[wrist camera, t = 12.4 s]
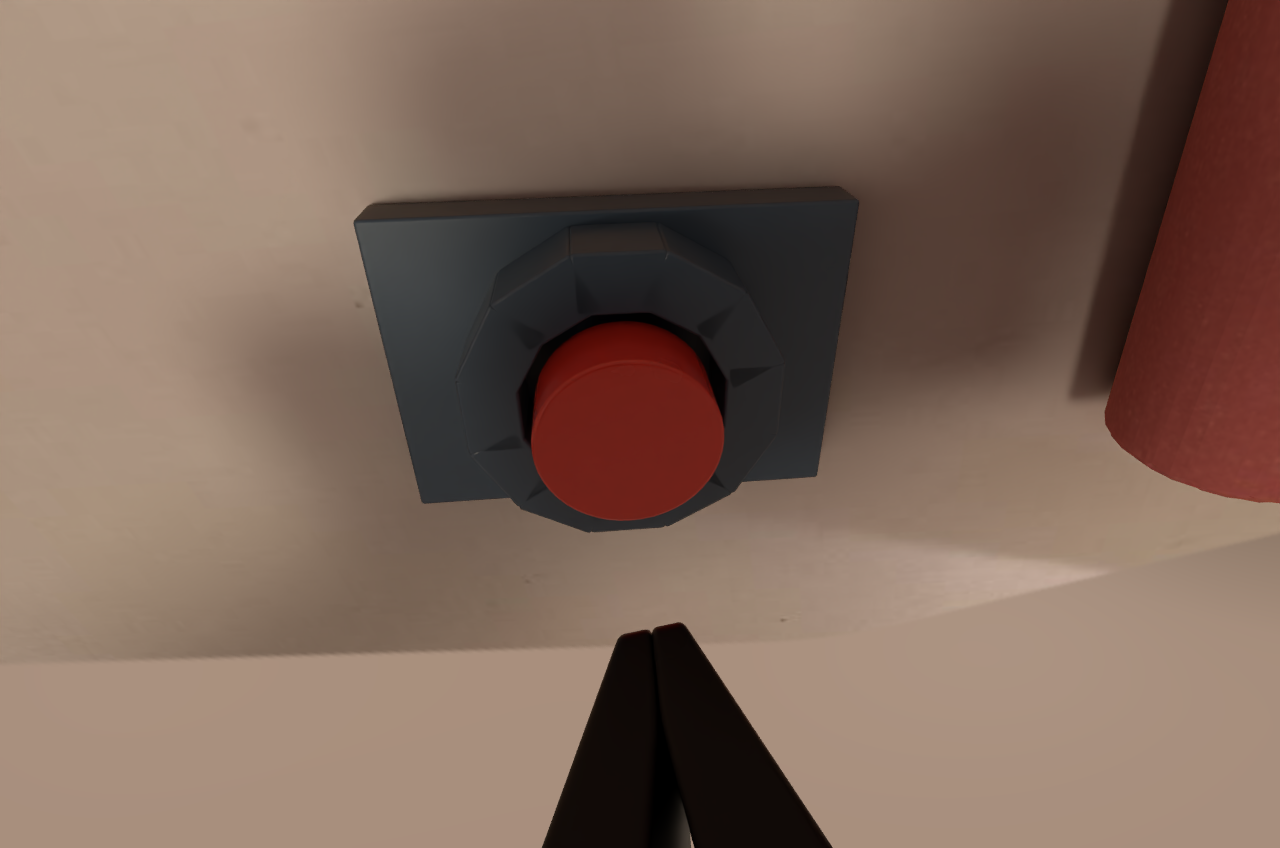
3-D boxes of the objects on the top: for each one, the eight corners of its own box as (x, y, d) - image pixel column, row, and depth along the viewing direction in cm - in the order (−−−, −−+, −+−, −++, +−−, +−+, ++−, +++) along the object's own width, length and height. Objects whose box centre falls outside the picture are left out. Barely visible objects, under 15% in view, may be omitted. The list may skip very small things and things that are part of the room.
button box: (430, 475, 18) (406, 556, 15) (366, 203, 14) (322, 251, 11) (804, 451, 18) (841, 524, 16) (840, 185, 15) (897, 225, 12)
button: (543, 475, 15) (540, 528, 13) (525, 324, 13) (520, 367, 11) (706, 464, 15) (721, 515, 14) (712, 314, 13) (731, 355, 12)
